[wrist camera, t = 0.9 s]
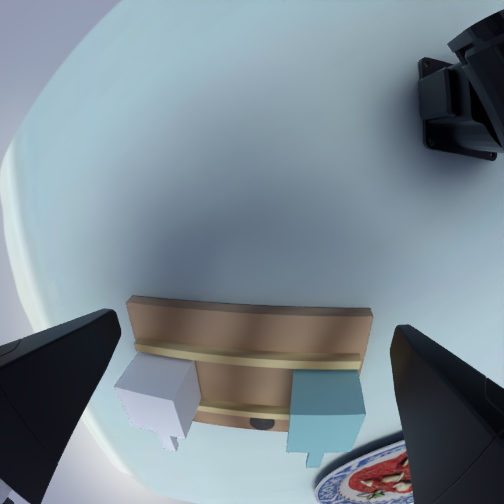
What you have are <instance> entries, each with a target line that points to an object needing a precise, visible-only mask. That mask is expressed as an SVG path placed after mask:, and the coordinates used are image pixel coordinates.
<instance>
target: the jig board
mask: <svg viewBox="0 0 504 504" xmlns="http://www.w3.org/2000/svg"><path fill="white" fill-rule="evenodd" d="M126 305H127V309H128V314H129V318H130V322H131V326H132V329H133V333H134V337H135V343H134V345H135V349H136V351H140V352H145V353H151V354H156V355H162V356H168V357H175V358H182V359H189V360H194V361H195V367H196V372H197V377H198V382H199V388H200V393H201V397H202V398H201V401H200V403H199V406H198V408H197V411H196V414H195V416H194V419H193V421H195V422H201V423H207V424H213V425H220V426H228V427H236V428H244V429H254V430H266V431H281V432H288V428H289V417H290V404H291V394H292V383H293V371H294V369H333V370H334V369H358V373H359V376H360V372H361V369H362V365H363V361H364V356H365V352H366V348H367V344H368V339H369V335H370V330H371V325H372V320H373V315H372V312H371V309H370V308H316V307H284V306H261V305H242V304H225V303H210V302H197V301H184V300H173V299H162V298H151V297H141V296H132V297H131V298H130V299H129V300H128V301H127V302H126Z"/></svg>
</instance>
